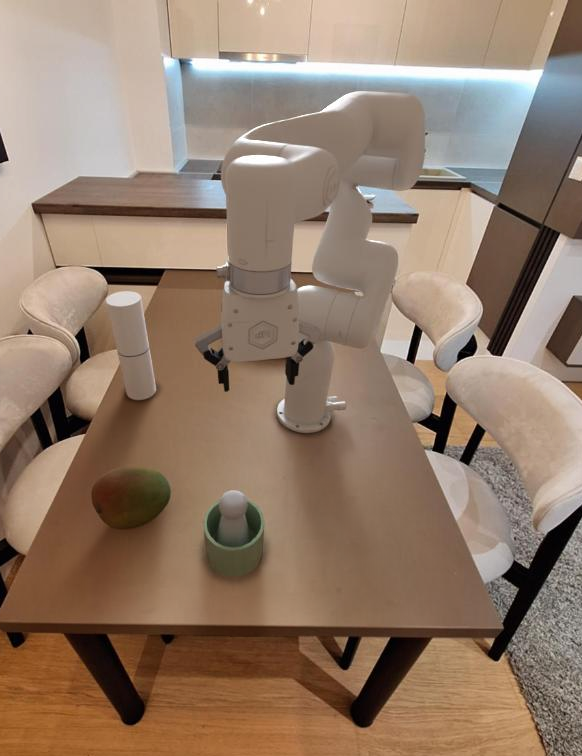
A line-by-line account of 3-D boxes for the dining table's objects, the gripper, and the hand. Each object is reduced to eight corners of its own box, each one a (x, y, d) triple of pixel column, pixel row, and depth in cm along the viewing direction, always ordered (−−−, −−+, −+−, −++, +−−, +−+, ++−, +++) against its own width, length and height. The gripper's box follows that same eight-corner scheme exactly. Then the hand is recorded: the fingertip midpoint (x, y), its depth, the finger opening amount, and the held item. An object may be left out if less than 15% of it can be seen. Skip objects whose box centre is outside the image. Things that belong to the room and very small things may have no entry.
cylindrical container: (126, 402, 96) (105, 307, 80) (126, 384, 101) (106, 292, 86) (157, 397, 97) (141, 304, 82) (155, 380, 103) (140, 289, 87)
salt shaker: (246, 567, 64) (247, 520, 56) (212, 559, 65) (208, 512, 57) (254, 534, 68) (256, 487, 60) (221, 528, 69) (219, 480, 61)
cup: (257, 521, 71) (258, 493, 66) (266, 572, 64) (269, 545, 59) (204, 527, 70) (202, 500, 65) (208, 581, 63) (205, 554, 58)
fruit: (89, 511, 72) (75, 475, 66) (149, 473, 79) (141, 437, 73) (122, 555, 66) (110, 520, 59) (184, 510, 73) (179, 474, 66)
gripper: (189, 292, 44) (201, 405, 55) (338, 282, 47) (321, 392, 58) (186, 265, 50) (198, 372, 61) (319, 257, 52) (307, 362, 63)
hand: (258, 382), depth 59 cm, fingers open, 9 cm apart
